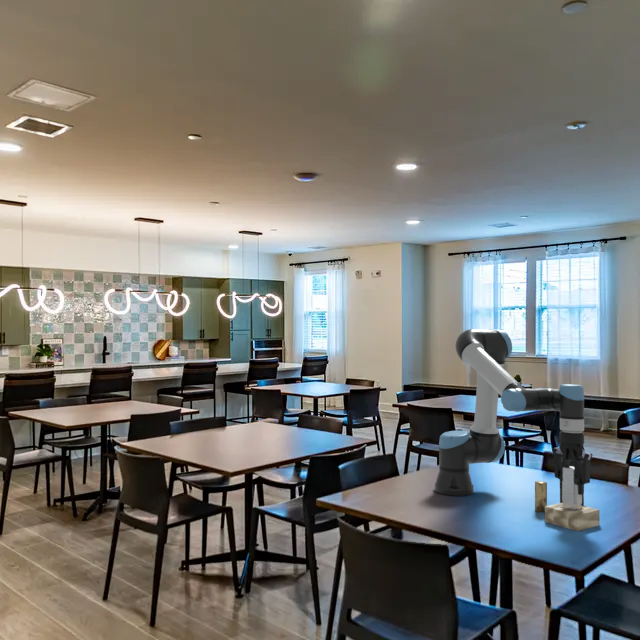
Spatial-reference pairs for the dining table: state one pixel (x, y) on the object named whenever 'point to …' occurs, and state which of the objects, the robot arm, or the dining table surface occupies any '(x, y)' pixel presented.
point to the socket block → (572, 517)
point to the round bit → (540, 496)
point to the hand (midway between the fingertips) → (572, 502)
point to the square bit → (569, 489)
